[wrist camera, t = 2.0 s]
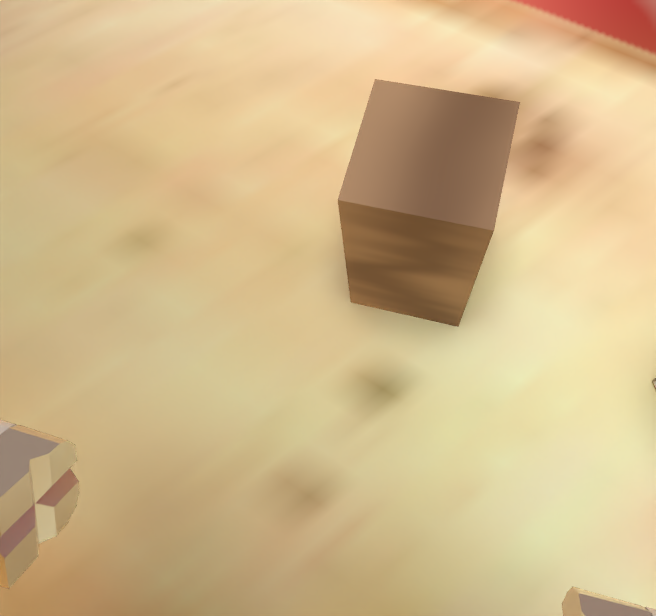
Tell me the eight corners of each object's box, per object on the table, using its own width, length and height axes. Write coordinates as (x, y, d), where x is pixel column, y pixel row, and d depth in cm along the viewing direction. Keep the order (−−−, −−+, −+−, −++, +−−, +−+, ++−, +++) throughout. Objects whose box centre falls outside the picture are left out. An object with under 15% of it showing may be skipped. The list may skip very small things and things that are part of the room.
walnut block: (350, 302, 27) (337, 199, 19) (376, 210, 29) (375, 78, 21) (458, 326, 27) (493, 230, 18) (478, 230, 28) (519, 102, 20)
